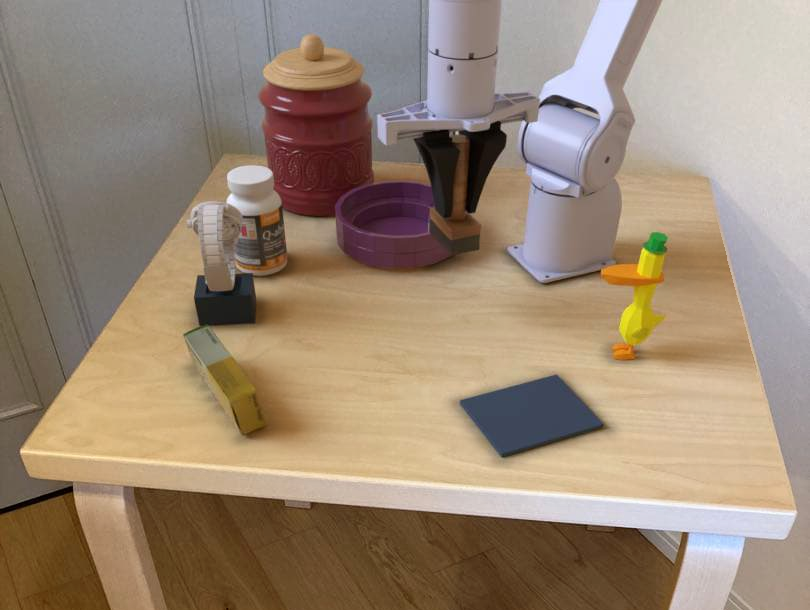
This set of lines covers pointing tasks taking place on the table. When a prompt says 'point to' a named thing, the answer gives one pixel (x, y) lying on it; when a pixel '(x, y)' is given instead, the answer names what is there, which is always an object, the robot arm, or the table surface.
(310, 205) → the kitchen canister
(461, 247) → the wooden peg on base
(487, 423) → the mat
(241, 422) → the medication box
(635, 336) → the toy figure
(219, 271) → the watch
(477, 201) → the robot arm
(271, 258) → the pill bottle
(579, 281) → the table surface
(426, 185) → the bowl
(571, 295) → the table surface
